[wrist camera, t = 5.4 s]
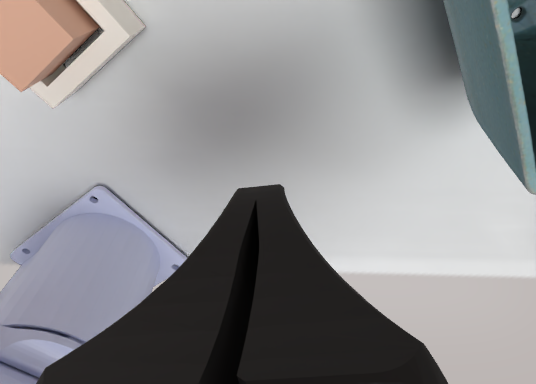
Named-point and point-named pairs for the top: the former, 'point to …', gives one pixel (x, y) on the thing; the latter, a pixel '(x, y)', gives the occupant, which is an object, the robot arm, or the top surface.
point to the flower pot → (500, 75)
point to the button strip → (92, 50)
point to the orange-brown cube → (39, 37)
